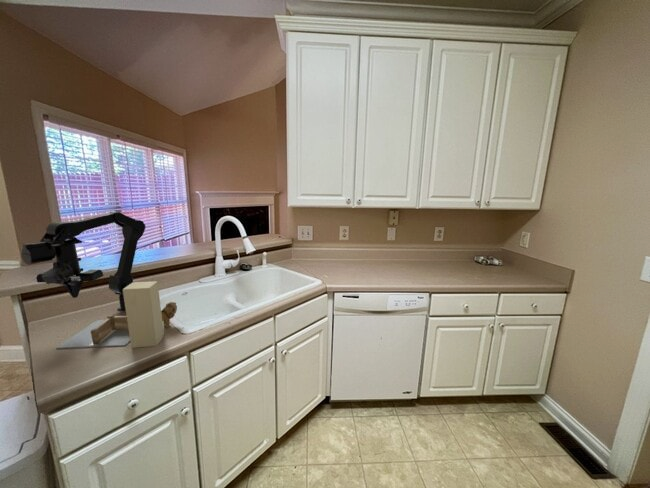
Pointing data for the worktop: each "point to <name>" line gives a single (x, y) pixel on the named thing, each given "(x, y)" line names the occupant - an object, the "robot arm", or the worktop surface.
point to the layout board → (112, 339)
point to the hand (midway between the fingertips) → (75, 297)
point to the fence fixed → (118, 322)
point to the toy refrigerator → (143, 313)
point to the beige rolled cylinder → (101, 331)
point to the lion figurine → (168, 313)
